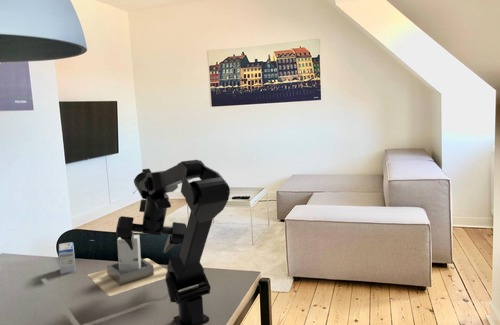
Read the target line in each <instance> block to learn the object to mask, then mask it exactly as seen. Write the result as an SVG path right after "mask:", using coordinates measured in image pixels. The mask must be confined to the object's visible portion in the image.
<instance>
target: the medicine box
mask: <svg viewBox="0 0 500 325" xmlns="http://www.w3.org/2000/svg"><path fill="white" fill-rule="evenodd" d="M74 248H75V246H74V242H73V241H71V242H64V243H59V244H58V260H59V270H60V271H59V272H60V275H65V274H70V273H75V272H76V270H77V269H76V259H75V257H76V256H75V249H74Z"/></svg>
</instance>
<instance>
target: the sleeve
mask: <svg viewBox="0 0 500 325" xmlns="http://www.w3.org/2000/svg"><path fill="white" fill-rule="evenodd" d="M144 259H145V258H142V257H141V268H139V269H135V270H132V271H128V272H125V273H120V272H119V261H118V262H116V263H110V264H107V265H106V269H107V274H108V276H109V277H111V278H112V279H113V280H114V281H115V282H116V283H118V284H119V285H123V284H127V283H130V282H133V281H136V280H139V279H143V278H146V277H149V276H152V275H154V269H153V265H152V264H150V263H148V262H147V261H145V260H144Z"/></svg>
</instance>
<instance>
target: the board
mask: <svg viewBox="0 0 500 325" xmlns="http://www.w3.org/2000/svg"><path fill="white" fill-rule="evenodd" d="M143 259H144V260H145V261H147V262H148V263H150V264H152V265H153V269H154V275H152V276H149V277H146V278H143V279H139V280H136V281H133V282H130V283H127V284H123V285H119V284H118V283H116V282H115V281H114V280H113V279H112V278H111V277H109V276H108V274H107V268H106V269H103V270H99V271H96V272H93V273H89V274H87V277H88V278H89V279H91V281H93V282H94V283H95V285H97V286H98V287H99V288H100V290H102V292H104V293H105V294H106V295H107V296H108V297H112V296H115V295H118V294H120V293H121V294H122V293H125V292H127V291H130V290H133V289H136V288H137V289H138V288H140V287H142V286H143V287H144V286H147V285H149V284H152V283H157V282H158V281H161V280H166V279H165V278H166V273H167V270H168V269H167V268H165V267H163V266H161V265H160V264H158V263H156V262H155V261H154V260H152V259H150V258H143Z"/></svg>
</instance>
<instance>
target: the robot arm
mask: <svg viewBox="0 0 500 325" xmlns="http://www.w3.org/2000/svg"><path fill="white" fill-rule="evenodd" d="M197 178H198V179H199V180H194V179H197ZM191 180H192V181H191ZM189 181H190V182H189ZM133 183H134V185H135V187H136V190H137V191H138V193H139V195H140V197H141V198H142V199H140V203H139V210H138V211H139V212H140V213H143V218H142V223H134V221H135V220H134V219H135V217H131V216H122V215H121V216H119V217H118V221H117V224H116V230H115V237H116V238H119V237H120V238H121V239H124V240H125V241H126V242H127V244H128V245H129V247H130V249H131V250H133V245H134V235H135V234H134V233H137V234H147V235H154V236H155V235H157V236H161V235H162V234H164V235H165V234H166V235H167V236H168V237H167V240H166V242H165V245H164V249H163V254H166V253H167V252H168V251H169V250H171V249H172V248H174V247H175V246H179V245H180V244H181V247H180V253H176V254H174V255H170V257H169V258H168V259H169V261H168V264H167V266H166V270H167V273H166V278H165V279H164V280H165V284H166V287H167V288H166V289H167V294H168V296H169V300H170V303H175V304H177V305H178V315H176V316H173V319H172V320H173V321H174V322H175V323H177V324H178V325H202V324H204V323H205V322H208V321H210V317H209V316H208V315H206V314H205V313H204V305H203V304H204V302H203V300H204V299H203V296H205V295H209V294H211V284H210V282H209V279H208V278H207V275H206V273H205V268H204V267H203V265H202V264H201V260H202V256H203V253H204V249H205V246H206V243H207V240H208V236H209V233H210V230H211V226H212V223H213V220H214V219H215V218H216V217H217V216H218V215H220V213H221V212H223V210H224V209H225V206H226V205H227V203H228V201H229V198H230V195H231V190H230V186H229V184H228V183H227V181H226V180H225V179H224V177H223V176H222V175H221V174H220V173H219V172H218V171H216V170H214V169H212V168H210V167H208V166H206V165H205V164H204V162H203V161H202V160H200V159H191V160H183V161H180V162H178V163H177V164H176V165H173V166H171V167H170V168H168V169H166V170H158V171H151V169H150V168H143V169H142V170H141V172H140V173H138V174H137V175H136V176H135V178H134V179H133ZM178 185H181V186H180V187H181V188H180V193H181V194H182V196H183V198H185V199H184V200H185V202H186V204H187V206H188V208H189V210H190V211H189V212H190V213H189V218H188V221H187V224H186V223H183V222H174V221H173V222H172V225H165V220H166V216H167V211H168V210H167V209H168V208H171V207H172V205H171V204H172V203H171V202H170V200H169V199H170V196H169V195H168V194H169V193H174V192H175V190H177V189H178V188H179V186H178ZM196 285H197V286H196Z"/></svg>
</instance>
